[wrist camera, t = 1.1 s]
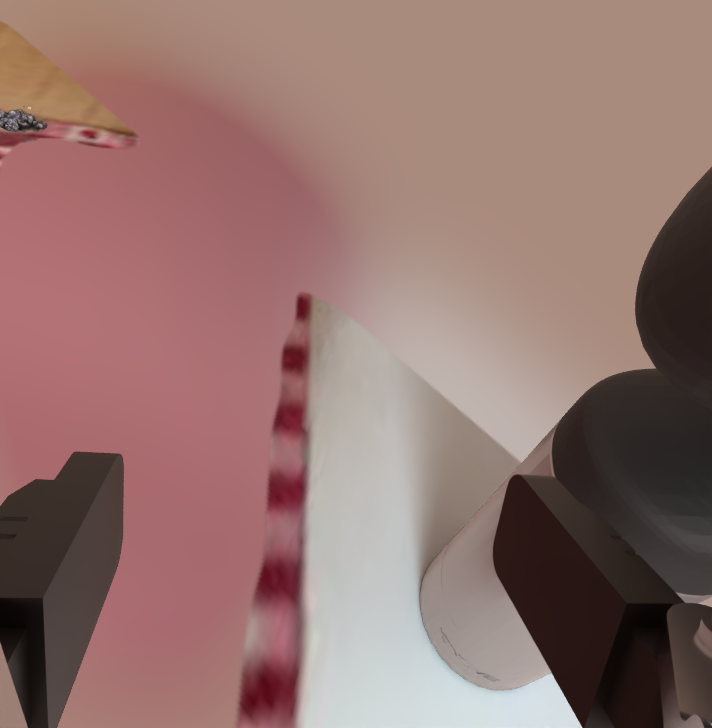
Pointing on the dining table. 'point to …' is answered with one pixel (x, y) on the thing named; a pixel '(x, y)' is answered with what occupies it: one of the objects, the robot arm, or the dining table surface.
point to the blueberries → (20, 122)
